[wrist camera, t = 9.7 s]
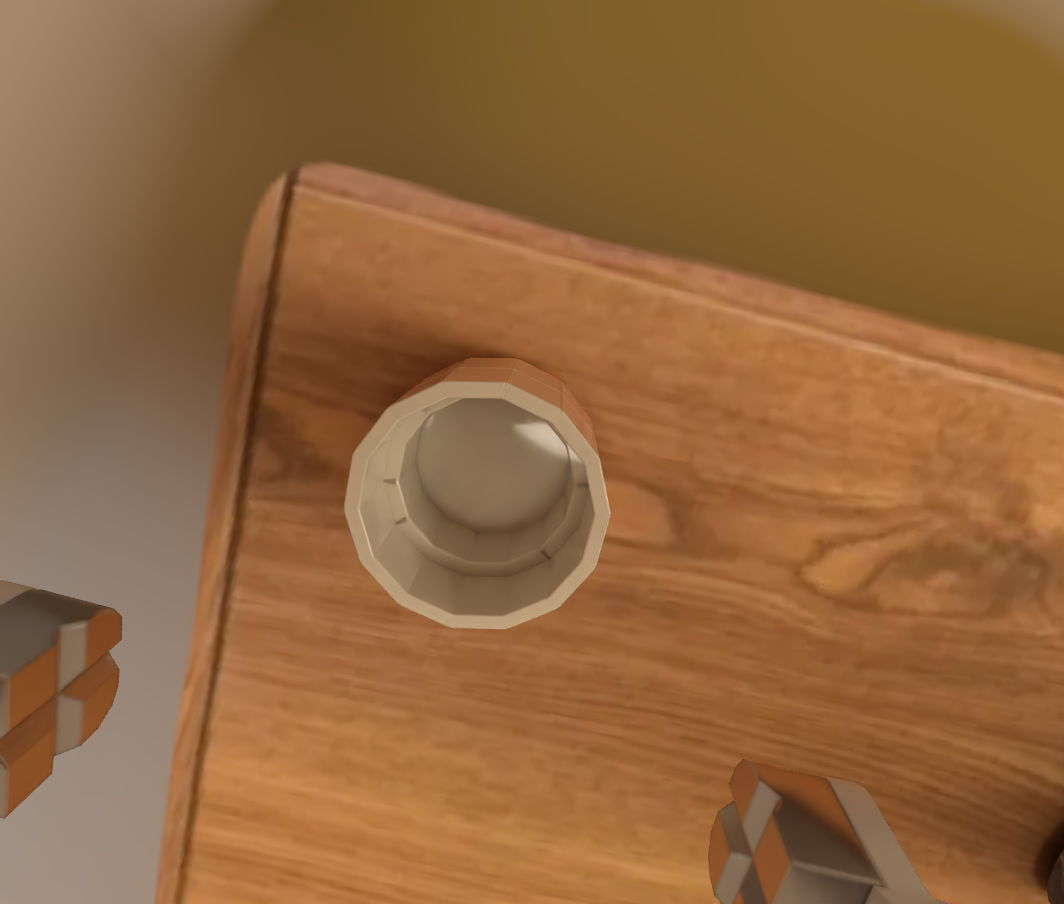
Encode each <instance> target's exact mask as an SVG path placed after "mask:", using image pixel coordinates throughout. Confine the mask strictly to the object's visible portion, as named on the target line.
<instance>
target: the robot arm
mask: <svg viewBox="0 0 1064 904" xmlns="http://www.w3.org/2000/svg"><path fill="white" fill-rule="evenodd" d="M121 639H122V616H121V615H120V614H119V613H118V612H117V611H116V610H115V609H113V608H110V607H106V606H102V605H98V604H94V603H91V602H87V601H83V600H79V599H75V598H71V597H68V596H64V595H60V594H56V593H52V592H49V591H45V590H37V589H35V588H32V587H28V586H24V585H20V584H16V583H12V582H7V581H4V580H0V818H4V819H5V818H6V817H7V816H8V815H9V814H10V813H11V812H12V811H13V810H14V809H15V808H16V807H17V806H18V805H19V804H20V803H21V802H23V800H25V799H26V798H27V797H28V796H29V795H30V794H31V793H32V792H33V791H34V790H35V789H36V788H37V787H38V786H39V785H40V784H41V783H42V782H43V781H45V779H47V778H48V777H49V776H50V775H51V774H52V769H53V758H54V756H56V755H58V754H61V753H63V752H66V751H69V750H71V749H74V748H76V747H79V746H81V745H82V744H83V743H84V742H85V741H86V740H87V739H88V738H89V737H90V736H91V735H92V734H93V733H94V732H95V731H96V730H97V729H98V728H99V726H100V725H101V723H102V721H103V719H104V718H105V716H106V715H107V713H108V711H109V709H110V708H111V707H112V704H113V701H114V698H115V695H116V692H117V688H118V682H119V668H118V667H117V665H116V663H115V661H114V659H113V658H112V656H111V655H110V653H109V651H110V650H111V649H112V648H113V647H114V646H115V645H116V644H117V643H119V642H120V641H121ZM729 785H730V789H731V792H732V795H733V798H734V801H733V802H731V803H730V804H728V805H727V806H725V807H724V808H722V809H721V810H719V811H718V813H717V816H716V819H715V822H714V825H713V828H712V830H711V835H710V844H709V853H708V860H709V873H710V879H711V883H712V888H713V892H714V895H715V896H716V898H717V899H718V900H719V901H720V902H721V904H947V903H945V902H941V901H937V900H933V899H932V898H931V896H930V894H929V893H928V891H927V889H926V888H925V886H924V884H923V882H922V881H921V879H920V877H919V876H918V874H917V872H916V871H915V869H914V867H913V866H912V864H911V862H910V861H909V859H908V857H907V856H906V854H905V852H904V851H903V849H902V847H901V845H900V844H899V842H898V840H897V839H896V837H895V835H894V834H893V832H892V830H891V829H890V827H889V825H888V824H887V822H886V820H885V819H884V817H883V815H882V814H881V812H880V810H879V808H878V807H877V805H876V803H875V802H874V800H873V798H872V797H871V795H870V793H869V792H868V791H867V790H866V789H865V788H864V787H862V786H861V785H860V784H859V783H855V782H850V781H846V780H841V779H836V778H831V777H826V776H821V775H819V776H815V775H811V774H806V773H802V772H798V771H793V770H789V769H785V768H780V767H776V766H772V765H767V764H763V763H759V762H754V761H750V760H746V759H742V761H741V762H740V763H739V764H738V765H737V766H736V768H735V770H734V772H733V775H732V777H731V780H730V782H729Z"/></svg>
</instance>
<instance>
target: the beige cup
mask: <svg viewBox="0 0 1064 904" xmlns="http://www.w3.org/2000/svg"><path fill="white" fill-rule="evenodd" d="M344 513H345V516H346V519H347V523H348V526H349V529H350V532H351V535H352V539H353V542H354V545H355V548H356V551H357V555H358V558H359V561H360V562H361V564H362V565H363V566H364V567H365V569H366V570H367V571H368V572H369V573H370V574H371V575H372V576H373V577H374V578H375V580H376V581H377V582H378V583H379V584H380V585H381V586H382V587H383V588H384V589H385V591H386V592H387V593H388V594H389V595H390V596H391V597H392V598H393V599H394V600H395V602H396V603H399V605H401V606H403V607H405V608H407V609H409V610H412V611H414V612H416V613H418V614H420V615H423V616H425V617H427V618H429V619H431V620H434V621H436V622H438V623H440V624H443V625H445V626H447V627H451V628H476V629H508V628H511V627H513V626H516V625H518V624H521V623H523V622H525V621H528V620H530V619H533V618H535V617H538V616H540V615H543V614H545V613H548V612H550V611H553V610H555V609H557V608H558V607H560V606H561V605H562V604H563V602H564V601H565V600H566V599H567V598H568V597H569V596H570V595H571V594H572V593H573V592H574V591H575V590H576V588H577V587H578V586H579V585H580V584H581V583H582V582H583V581H584V580H585V579H586V578H587V577H588V576H589V574H590V573H591V572H592V571H593V570H594V569H595V567H596V565H597V562H598V558H599V555H600V551H601V548H602V544H603V541H604V537H605V534H606V530H607V527H608V523H609V520H610V516H611V515H610V513H611V511H610V506H609V501H608V496H607V491H606V486H605V481H604V476H603V471H602V466H601V461H600V456H599V452H598V448H597V443H596V439H595V435H594V431H593V426H592V422H591V419H590V418H589V415H588V414H587V413H586V411H585V410H584V409H583V408H582V406H581V405H580V404H579V402H578V401H577V400H576V399H575V397H574V396H573V395H572V393H571V392H570V391H569V390H568V388H567V387H566V386H565V384H564V383H563V382H561V380H560V379H558V378H556V377H554V376H552V375H550V374H548V373H546V372H544V371H542V370H540V369H538V368H536V367H534V366H532V365H530V364H528V363H526V362H524V361H522V360H520V359H516V358H468V359H464V360H462V361H460V362H458V363H456V364H454V365H451V366H449V367H447V368H445V369H443V370H441V371H439V372H437V373H435V374H433V375H431V376H428V377H427V378H425V379H424V380H423V381H421V382H420V383H419V384H417V385H416V386H415V387H414V388H412V389H411V390H409V391H408V392H407V393H406V394H404V395H403V396H402V397H400V398H399V399H398V400H396V401H395V402H394V403H393V404H391V405H390V406H389V407H387V408H386V409H385V411H384V412H383V413H382V415H381V416H380V417H379V419H378V420H377V421H376V423H375V424H374V425H373V427H372V428H371V429H370V430H369V432H368V433H367V434H366V436H365V437H364V438H363V440H362V441H361V442H360V444H359V445H358V446H357V448H356V449H355V450H354V452H353V454H352V458H351V464H350V470H349V476H348V482H347V488H346V494H345V501H344Z"/></svg>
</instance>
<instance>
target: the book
mask: <svg viewBox="0 0 1064 904" xmlns="http://www.w3.org/2000/svg"><path fill="white" fill-rule="evenodd" d="M1047 891H1048V899H1049V902H1050V903H1051V904H1064V850H1063V851H1062V852H1061V854H1060V855H1059V857H1058V859H1057V861H1056V863H1055V866H1054V868H1053V870H1052V872H1051V875H1050V877H1049V879H1048V882H1047Z"/></svg>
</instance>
